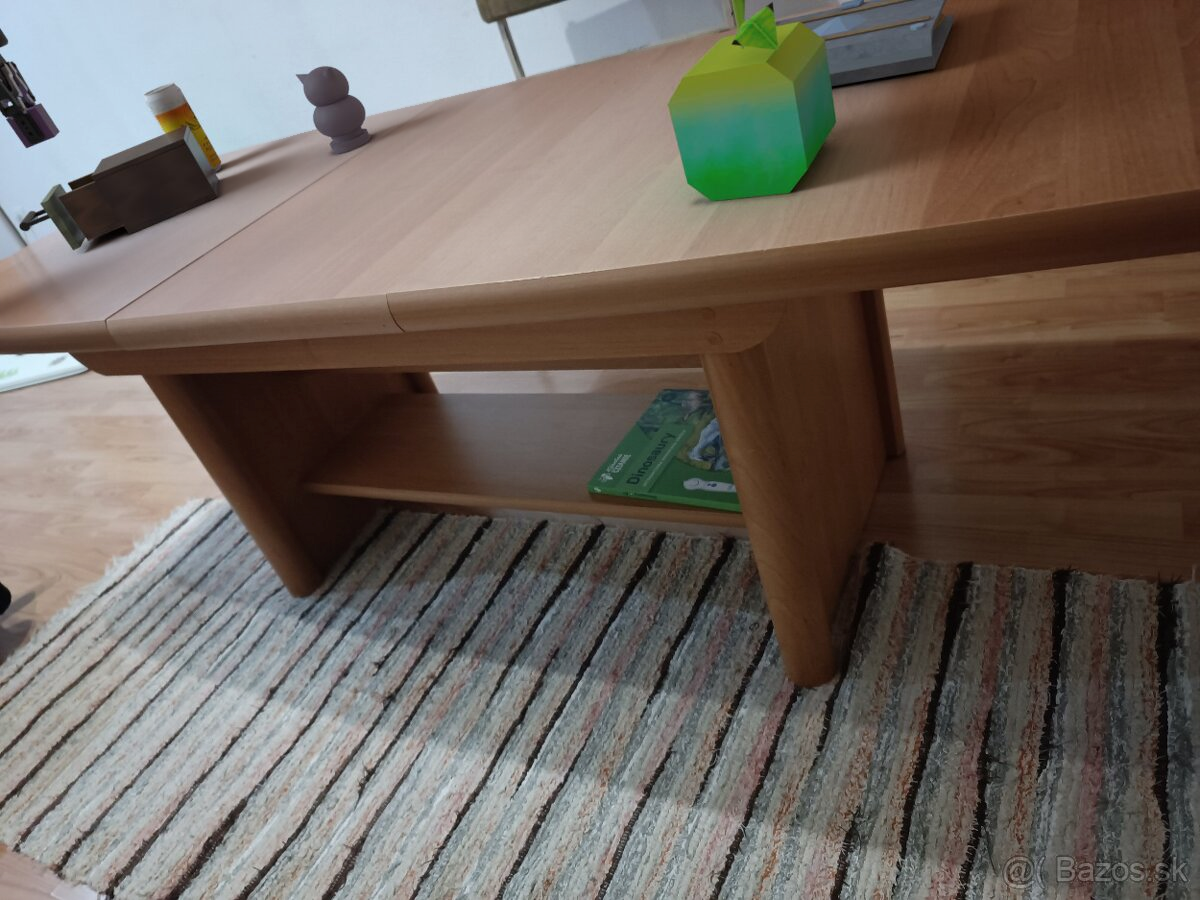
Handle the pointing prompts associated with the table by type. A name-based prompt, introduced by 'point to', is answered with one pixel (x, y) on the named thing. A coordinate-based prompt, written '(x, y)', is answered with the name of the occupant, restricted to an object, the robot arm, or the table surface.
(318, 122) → the cat figurine
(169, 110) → the beer can
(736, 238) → the table surface
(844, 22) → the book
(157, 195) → the cabinet
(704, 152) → the apple
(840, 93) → the table surface
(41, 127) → the block
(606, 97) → the table surface
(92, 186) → the drawer
